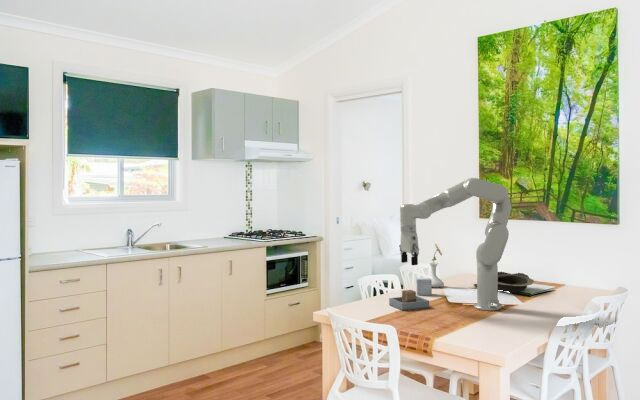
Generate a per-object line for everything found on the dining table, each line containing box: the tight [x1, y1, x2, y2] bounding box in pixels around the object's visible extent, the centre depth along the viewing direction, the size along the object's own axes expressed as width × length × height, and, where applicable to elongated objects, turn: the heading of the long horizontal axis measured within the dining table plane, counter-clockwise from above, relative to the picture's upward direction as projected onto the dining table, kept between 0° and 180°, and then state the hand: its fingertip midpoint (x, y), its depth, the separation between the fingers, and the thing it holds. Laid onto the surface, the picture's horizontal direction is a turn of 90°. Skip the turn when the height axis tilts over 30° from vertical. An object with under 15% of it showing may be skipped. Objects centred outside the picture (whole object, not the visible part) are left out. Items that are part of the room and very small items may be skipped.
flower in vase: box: [429, 243, 445, 288], centre depth 310 cm, size 13×11×25 cm
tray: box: [388, 295, 430, 312], centre depth 263 cm, size 13×15×4 cm
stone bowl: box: [498, 271, 535, 294], centre depth 295 cm, size 25×25×9 cm
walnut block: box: [401, 289, 417, 303], centre depth 263 cm, size 5×5×7 cm
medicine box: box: [415, 277, 433, 296], centre depth 289 cm, size 8×4×9 cm, turn 84°
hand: (409, 263), depth 262 cm, fingers open, 9 cm apart
